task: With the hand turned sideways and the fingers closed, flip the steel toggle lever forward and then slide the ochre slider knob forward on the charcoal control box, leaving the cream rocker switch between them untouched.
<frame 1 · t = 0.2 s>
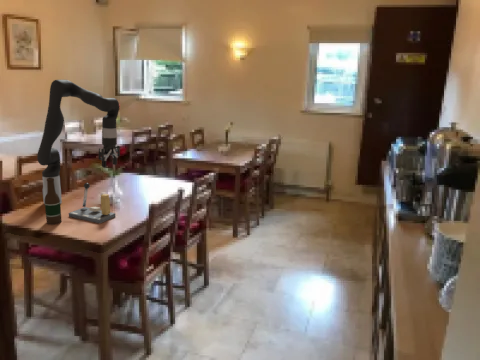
hand: (109, 165, 220), 28 cm above the table, tool pointing down, fingers open, 8 cm apart
toggle lever: (86, 190, 228), point 13 cm above the table, hinge at -15.0°
slider knob: (105, 204, 221), point 8 cm above the table, slide at 0.0 cm
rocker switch: (94, 209, 226), point 4 cm above the table, hinge at -10.0°
beer bottle: (54, 222, 215), on the table
control box: (92, 216, 224), on the table
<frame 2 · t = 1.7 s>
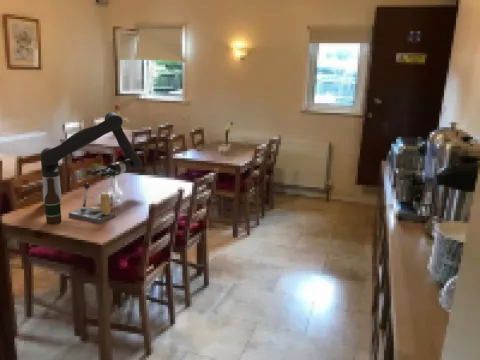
hand: (96, 174, 234), 20 cm above the table, tool horizontal, fingers open, 6 cm apart
nothing on the table moved.
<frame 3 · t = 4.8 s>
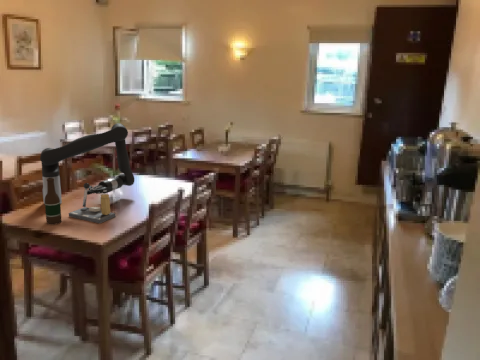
hand: (86, 192, 229), 11 cm above the table, tool horizontal, fingers closed
toggle lever: (86, 190, 228), point 13 cm above the table, hinge at -14.2°, touching gripper
everything else where it was.
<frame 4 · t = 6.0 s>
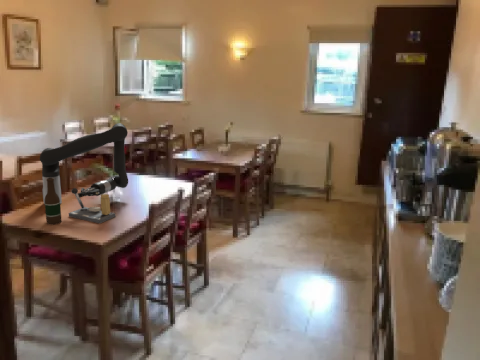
hand: (78, 195, 224), 11 cm above the table, tool horizontal, fingers closed
toggle lever: (76, 194, 222), point 12 cm above the table, hinge at 25.0°, touching gripper
everything else where it was.
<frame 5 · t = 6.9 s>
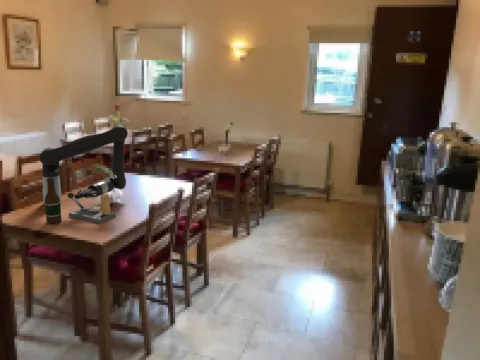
hand: (75, 197, 222), 11 cm above the table, tool horizontal, fingers closed
toggle lever: (73, 198, 221), point 10 cm above the table, hinge at 39.8°, touching gripper
everything else where it was.
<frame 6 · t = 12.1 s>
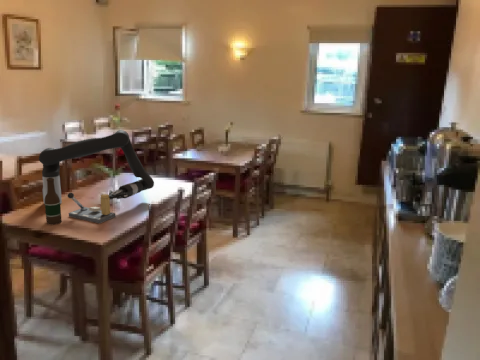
hand: (107, 198, 222), 11 cm above the table, tool horizontal, fingers closed
toggle lever: (73, 198, 221), point 10 cm above the table, hinge at 39.8°
slider knob: (105, 204, 221), point 8 cm above the table, slide at 0.1 cm, touching gripper
everything else where it was.
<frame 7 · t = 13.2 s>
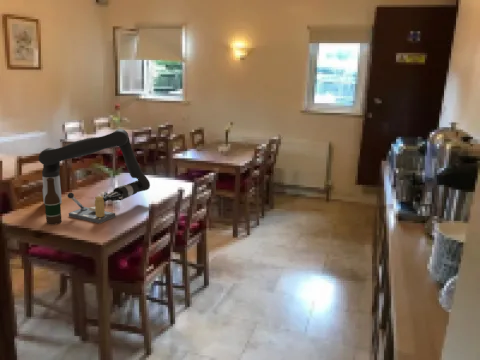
hand: (102, 200, 218), 11 cm above the table, tool horizontal, fingers closed
slider knob: (99, 206, 217), point 8 cm above the table, slide at 4.4 cm, touching gripper
everything else where it was.
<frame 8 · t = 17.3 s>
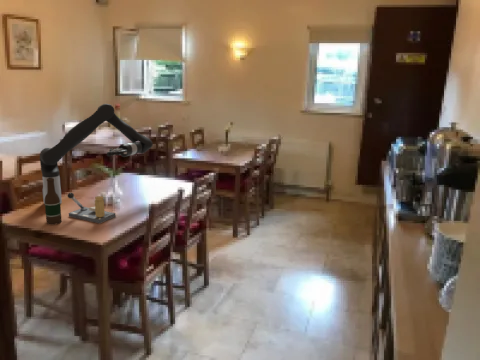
hand: (108, 154, 232), 32 cm above the table, tool horizontal, fingers closed
slider knob: (99, 206, 217), point 8 cm above the table, slide at 4.4 cm
everything else where it was.
at the end: toggle lever at +40° (first picture: -15°); slider knob slide at 4.4 cm; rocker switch at -10° (first picture: -10°) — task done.
